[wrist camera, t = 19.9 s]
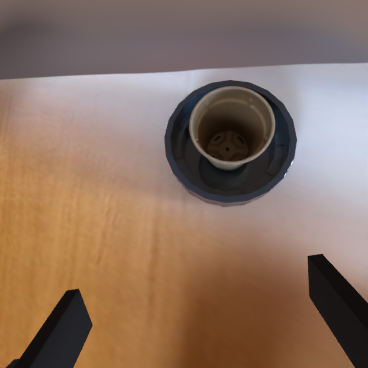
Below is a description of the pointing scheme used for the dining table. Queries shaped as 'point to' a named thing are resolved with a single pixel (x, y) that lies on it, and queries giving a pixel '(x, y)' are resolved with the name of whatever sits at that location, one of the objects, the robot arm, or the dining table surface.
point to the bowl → (228, 179)
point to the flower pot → (231, 126)
